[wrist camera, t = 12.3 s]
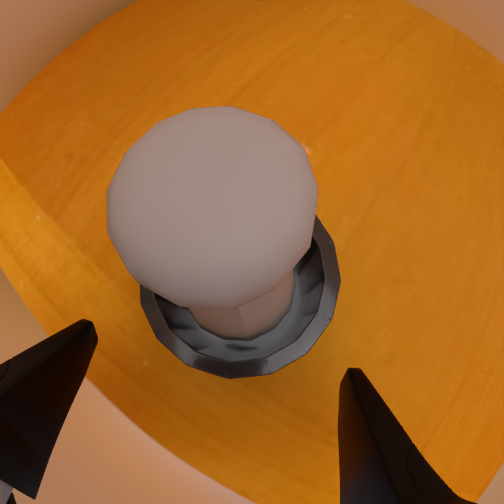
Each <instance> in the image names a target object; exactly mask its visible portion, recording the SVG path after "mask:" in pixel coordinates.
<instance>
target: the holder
mask: <svg viewBox="0 0 504 504" xmlns="http://www.w3.org/2000/svg"><path fill="white" fill-rule="evenodd" d="M293 274H294V278H295V282H296V287H295V292H294V296H293V301H292V306H291V310H290V311H289V312H288V313H287V315H286V316H285V317H284V318H283V319H282V321H281V322H280V323H279V324H278V325H277V327H276V328H275V329H274V330H272V331H270V332H268V333H266V334H264V335H262V336H260V337H258V338H256V339H254V340H251V341H237V340H223V339H221V338H219V337H217V336H215V335H213V334H211V333H209V332H207V331H205V330H203V329H201V328H200V327H199V325H198V324H197V322H196V321H195V319H194V318H193V317H192V315H191V314H190V312H189V311H188V309H187V308H186V307H181V306H178V305H176V304H174V303H172V302H171V301H169V300H167V299H165V298H163V297H162V296H160V295H158V294H156V293H155V292H153V291H151V290H149V289H148V288H146V287H144V286H142V285H141V284H140V301H141V306H142V308H143V310H144V312H145V315H146V317H147V319H148V321H149V323H150V325H151V328H152V330H153V332H154V334H155V336H156V338H157V339H158V340H159V341H160V342H161V343H162V344H163V345H164V346H165V347H166V348H167V349H169V350H170V351H171V352H172V353H173V354H174V355H175V356H176V357H178V358H179V359H180V360H181V361H182V362H183V363H184V364H186V365H187V366H189V367H192V368H195V369H198V370H201V371H204V372H207V373H210V374H213V375H216V376H220V377H223V378H228V379H234V378H244V377H254V376H263V375H269V374H272V373H274V372H276V371H278V370H279V369H281V368H283V367H285V366H287V365H288V364H290V363H292V362H294V361H295V360H297V359H299V358H300V357H302V356H304V355H306V354H307V353H308V352H309V350H310V349H311V348H312V346H313V345H314V344H315V342H316V341H317V340H318V338H319V337H320V336H321V334H322V333H323V332H324V330H325V329H326V328H327V326H328V325H329V323H330V322H331V320H332V318H333V314H334V310H335V305H336V301H337V297H338V292H339V288H340V283H341V281H340V280H341V278H340V272H339V267H338V261H337V256H336V251H335V246H334V242H333V240H332V238H331V237H330V235H329V234H328V232H327V231H326V229H325V228H324V226H323V225H322V223H321V222H320V220H319V219H318V217H317V215H315V221H314V227H313V233H312V239H311V244H310V248H309V249H308V250H307V252H306V253H305V254H304V255H303V257H302V258H301V259H300V260H299V262H298V263H297V264H296V265H295V266H294V268H293Z"/></svg>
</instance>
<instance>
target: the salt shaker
mask: <svg viewBox="0 0 504 504" xmlns="http://www.w3.org/2000/svg"><path fill="white" fill-rule="evenodd" d="M317 198H318V186H317V183H316V180H315V177H314V174H313V172H312V169H311V166H310V163H309V160H308V157H307V154H306V152H305V149H304V147H303V146H302V145H301V144H299V143H298V142H297V141H296V140H295V139H294V138H293V137H292V136H291V135H290V134H289V133H287V132H286V131H285V130H284V129H283V128H282V127H281V126H280V125H278V124H277V123H276V122H275V121H274V120H271V119H268V118H266V117H263V116H260V115H257V114H254V113H251V112H248V111H245V110H242V109H239V108H236V107H232V106H222V107H205V108H192V109H190V110H187V111H184V112H182V113H179V114H177V115H174V116H172V117H170V118H167V119H165V120H162V121H160V122H158V123H157V124H155V125H154V126H153V127H152V128H151V129H150V130H149V131H148V132H147V133H146V134H144V135H143V136H142V137H141V138H140V139H139V140H138V141H137V142H136V143H135V144H134V145H133V146H132V147H131V148H130V149H129V150H128V151H127V152H126V153H125V154H124V156H123V158H122V160H121V162H120V164H119V166H118V168H117V170H116V172H115V174H114V177H113V179H112V181H111V183H110V185H109V187H108V190H107V232H108V235H109V237H110V239H111V241H112V242H113V244H114V246H115V248H116V250H117V252H118V254H119V255H120V257H121V259H122V261H123V263H124V264H125V266H126V268H127V270H128V271H129V273H130V274H131V275H132V276H133V277H134V279H135V280H136V281H137V282H138V283H139V284H141V285H142V286H144V287H146V288H148V289H149V290H151V291H153V292H155V293H156V294H158V295H160V296H162V297H163V298H165V299H167V300H169V301H171V302H172V303H174V304H176V305H178V306H181V307H186V308H187V309H188V311H189V312H190V314H191V315H192V317H193V318H194V319H195V321H196V322H197V324H198V325H199V327H200V328H201V329H203V330H205V331H207V332H209V333H211V334H213V335H215V336H217V337H219V338H221V339H223V340H237V341H251V340H254V339H256V338H258V337H260V336H262V335H264V334H266V333H268V332H270V331H272V330H274V329H275V328H276V327H277V325H278V324H279V323H280V322H281V321H282V319H283V318H284V317H285V316H286V315H287V313H288V312H289V311H290V310H291V306H292V301H293V296H294V292H295V287H296V282H295V278H294V274H293V268H294V266H295V265H296V264H297V263H298V262H299V260H300V259H301V258H302V257H303V255H304V254H305V253H306V252H307V250H308V249H309V248H310V244H311V239H312V233H313V227H314V221H315V215H316V208H317Z"/></svg>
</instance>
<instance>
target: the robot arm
mask: <svg viewBox="0 0 504 504" xmlns="http://www.w3.org/2000/svg"><path fill="white" fill-rule="evenodd" d="M97 342H98V336H97V333H96V330H95V327H94V324H93V322H92V321H89V320H86V319H81V320H79V321H77V322H76V323H74V324H72V325H70V326H68V327H67V328H65V329H63V330H61V331H59V332H57V333H56V334H54V335H52V336H50V337H48V338H47V339H45V340H43V341H41V342H39V343H38V344H36V345H34V346H33V347H30V348H29V349H27V350H25V351H23V352H22V353H20V354H18V355H16V356H14V357H13V358H12V359H9V360H7V361H6V362H4V363H2V364H0V504H16V501H15V499H14V495H13V493H12V490H13V488H15V489H17V490H18V491H20V492H22V493H23V494H25V495H27V496H29V497H31V498H32V499H35V498H36V496H37V493H38V490H39V487H40V484H41V481H42V478H43V475H44V472H45V469H46V467H47V464H48V461H49V460H48V459H49V458H50V455H51V453H52V450H53V448H54V445H55V443H56V440H57V438H58V435H59V433H60V430H61V428H62V426H63V423H64V421H65V419H66V416H67V414H68V412H69V409H70V407H71V405H72V403H73V401H74V398H75V396H76V394H77V392H78V390H79V388H80V386H81V383H82V381H83V379H84V377H85V375H86V372H87V369H88V367H89V364H90V361H91V358H92V356H93V353H94V350H95V348H96V345H97ZM338 442H339V465H340V504H477V503H474V502H470V501H467V500H465V499H462V498H461V497H459V496H457V495H456V494H455V493H454V492H453V491H452V490H451V489H450V488H449V487H448V486H447V484H446V483H445V482H444V481H443V480H442V479H441V478H440V476H439V475H438V474H437V473H436V472H435V471H434V470H433V468H432V467H431V466H430V465H429V464H428V462H427V461H426V460H425V459H424V457H423V456H422V454H421V453H420V452H419V450H418V449H417V447H416V446H415V445H414V443H412V440H411V439H410V437H409V436H408V435H407V433H406V432H405V430H404V429H403V427H402V426H401V425H400V423H399V422H398V420H397V419H396V417H395V416H394V415H393V413H392V412H391V410H390V409H389V408H388V406H387V405H386V403H385V402H384V401H383V399H382V398H381V396H380V395H379V393H378V392H377V391H376V389H375V388H374V386H373V385H372V384H371V382H370V381H369V379H368V378H367V377H366V375H365V374H364V373H363V371H362V370H361V369H360V368H348V369H347V371H346V373H345V375H344V377H343V379H342V381H341V383H340V390H339V412H338Z"/></svg>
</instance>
